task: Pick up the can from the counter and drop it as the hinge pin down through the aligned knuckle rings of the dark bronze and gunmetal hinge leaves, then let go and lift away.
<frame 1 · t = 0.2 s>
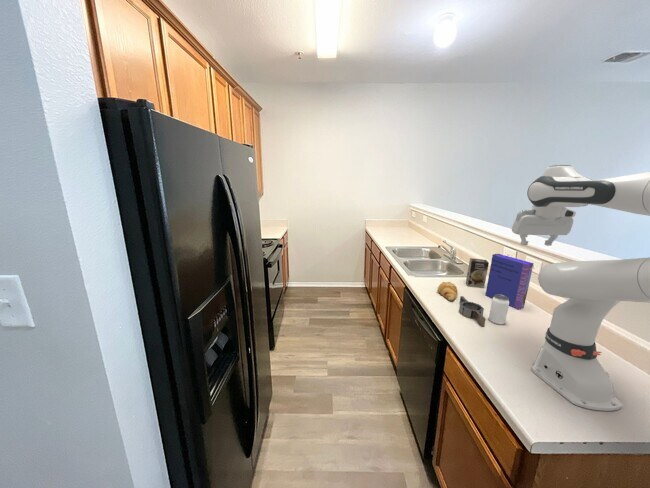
hand: (535, 245, 105), 38 cm above the worktop, tool pointing down, fingers open, 8 cm apart
croissant: (446, 294, 151), on the worktop
can: (496, 321, 124), on the worktop
cereal box: (503, 301, 143), on the worktop
coffee box: (474, 285, 164), on the worktop
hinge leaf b: (468, 306, 132), in the hinge leaf a
hinge leaf a: (470, 313, 130), on the worktop
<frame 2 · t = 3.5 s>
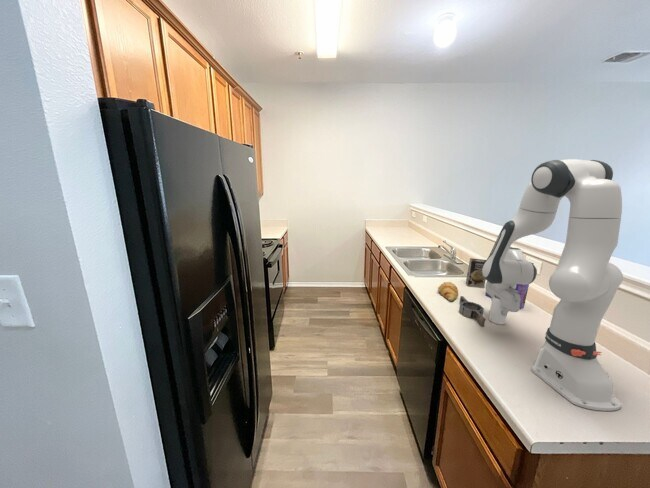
hand: (498, 311, 122), 5 cm above the worktop, tool pointing down, fingers closed on can, 6 cm apart
can: (496, 321, 124), on the worktop, touching gripper
everything else where it was.
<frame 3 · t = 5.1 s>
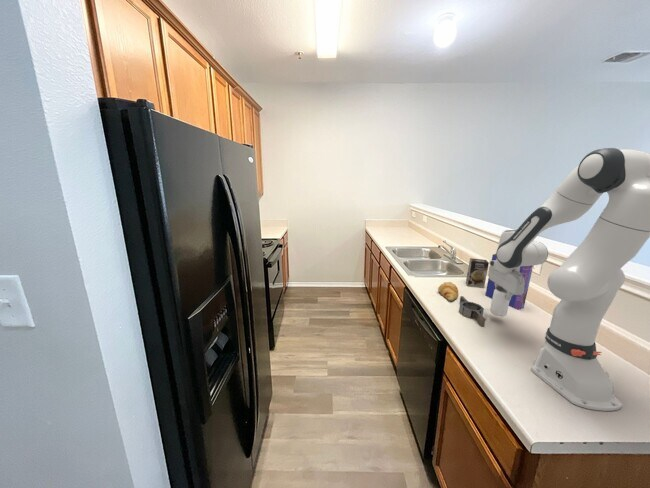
hand: (502, 296, 120), 13 cm above the worktop, tool pointing down, fingers closed on can, 6 cm apart
can: (498, 312, 123), point 4 cm above the worktop, touching gripper
everything else where it was.
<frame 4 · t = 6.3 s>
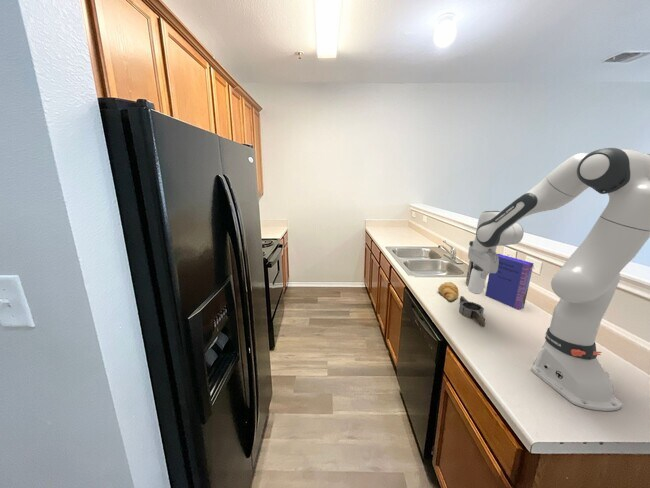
hand: (479, 275, 125), 20 cm above the worktop, tool pointing down, fingers closed on can, 6 cm apart
can: (474, 291, 129), point 11 cm above the worktop, touching gripper
everything else where it was.
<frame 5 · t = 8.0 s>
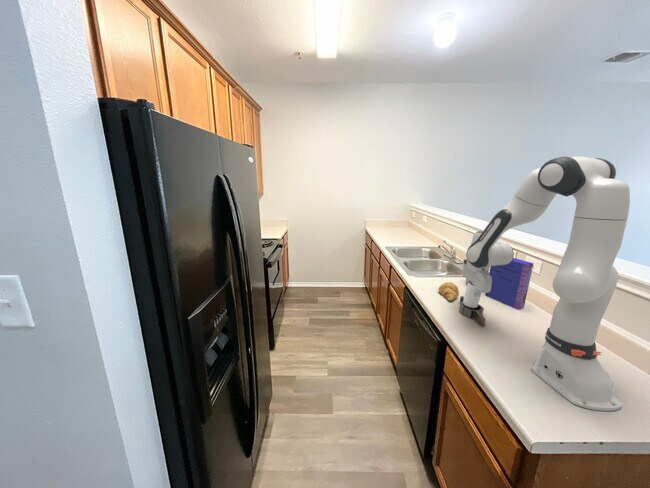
hand: (473, 293, 127), 11 cm above the worktop, tool pointing down, fingers closed on can, 6 cm apart
can: (469, 304, 131), point 4 cm above the worktop, touching gripper, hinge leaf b
everything else where it was.
when the fingers open (8 cm above the worktop, at t = 9.5 s): can stays where it is, resting on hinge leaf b.
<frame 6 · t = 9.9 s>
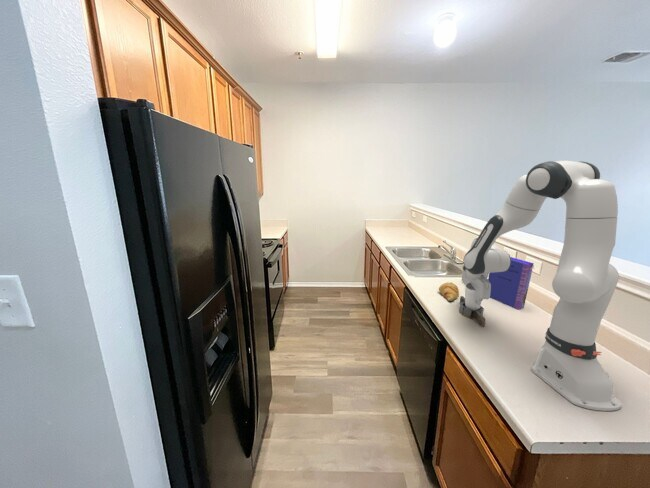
hand: (472, 299, 128), 8 cm above the worktop, tool pointing down, fingers open, 8 cm apart
can: (472, 306, 130), point 3 cm above the worktop, touching gripper, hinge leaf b
everything else where it was.
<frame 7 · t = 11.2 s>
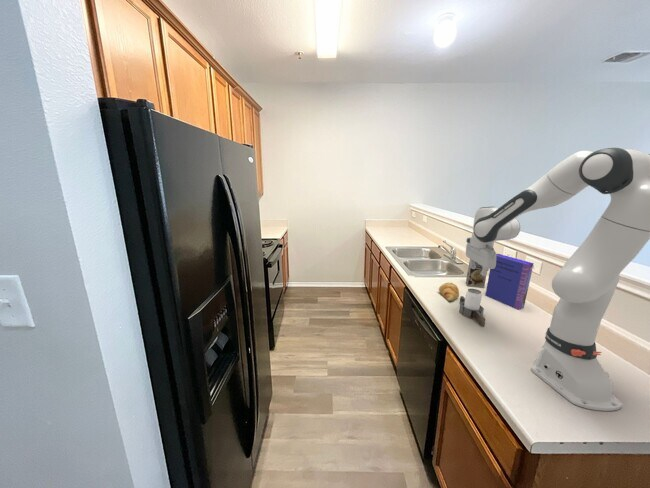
hand: (477, 271, 124), 21 cm above the worktop, tool pointing down, fingers open, 8 cm apart
can: (470, 314, 130), resting in hinge leaf a
everything else where it was.
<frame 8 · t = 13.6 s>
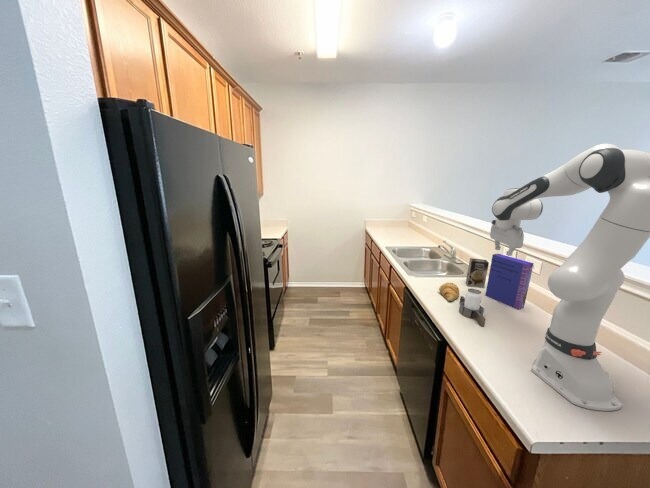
hand: (503, 252, 129), 29 cm above the worktop, tool pointing down, fingers open, 8 cm apart
at the end: can 0.4 cm off-centre on the hinge leaf a, point 0.0 cm above the hinge leaf a's base; can tilted 1°; the gripper is holding nothing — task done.
